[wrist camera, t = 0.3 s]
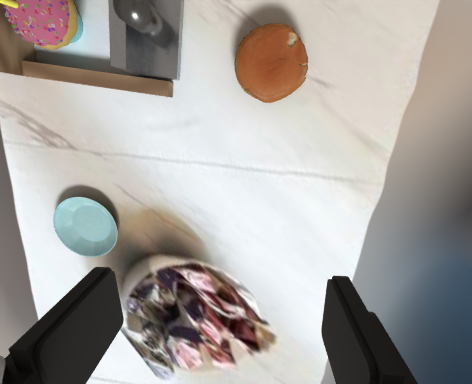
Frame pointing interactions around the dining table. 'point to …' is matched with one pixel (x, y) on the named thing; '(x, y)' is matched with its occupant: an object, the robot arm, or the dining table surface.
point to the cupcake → (45, 21)
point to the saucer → (85, 226)
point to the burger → (271, 62)
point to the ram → (146, 36)
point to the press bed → (24, 63)
